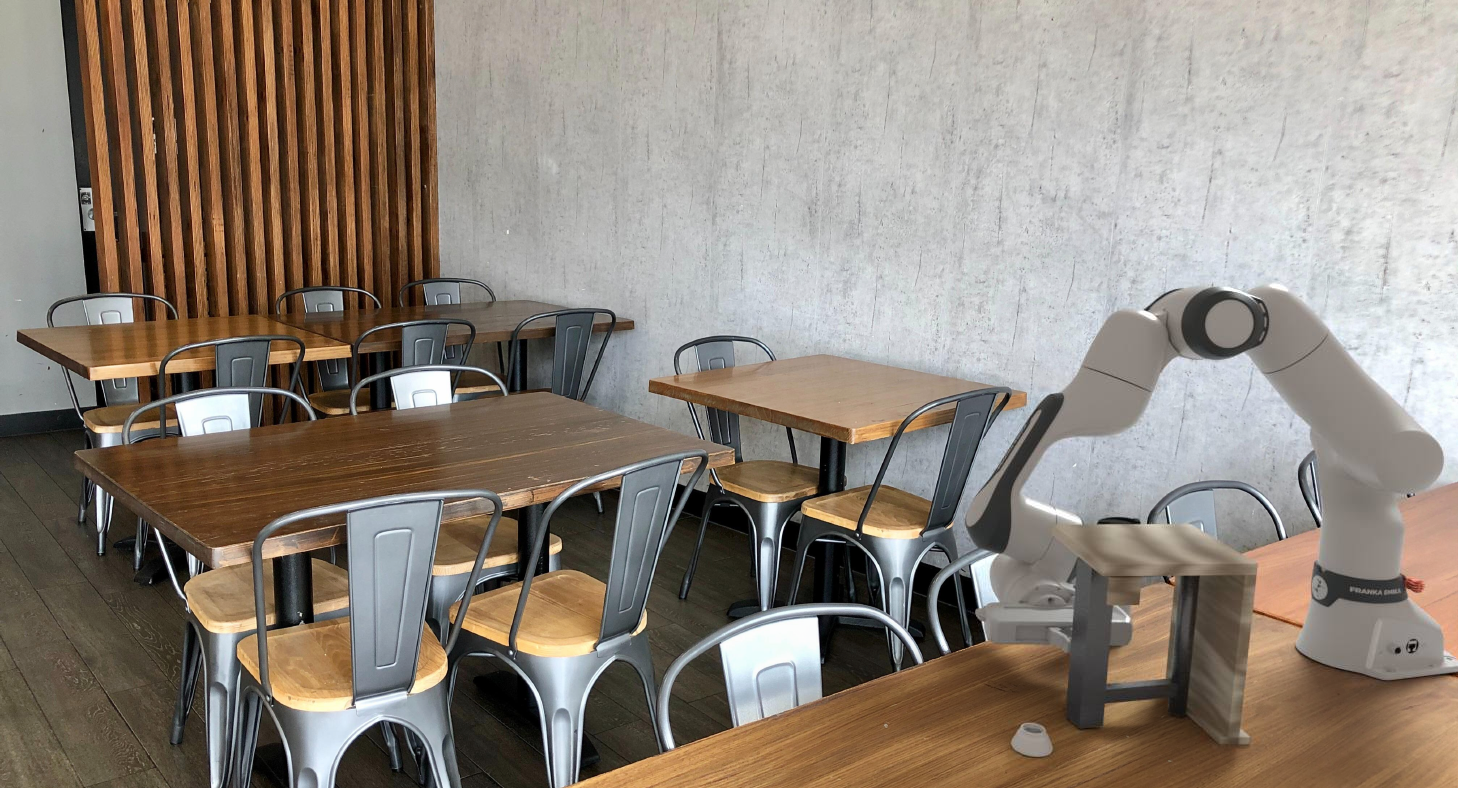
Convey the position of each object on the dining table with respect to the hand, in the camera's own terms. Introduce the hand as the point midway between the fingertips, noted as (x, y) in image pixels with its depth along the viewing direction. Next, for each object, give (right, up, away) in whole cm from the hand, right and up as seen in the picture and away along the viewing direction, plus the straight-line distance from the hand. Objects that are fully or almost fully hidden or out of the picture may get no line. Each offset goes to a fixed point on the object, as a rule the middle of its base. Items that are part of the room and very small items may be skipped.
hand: (1075, 647), depth 144 cm
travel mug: (+15, -6, +29) cm, 33 cm away
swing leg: (+8, -10, +1) cm, 13 cm away
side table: (+9, -10, +3) cm, 14 cm away
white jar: (-8, -12, -7) cm, 16 cm away
